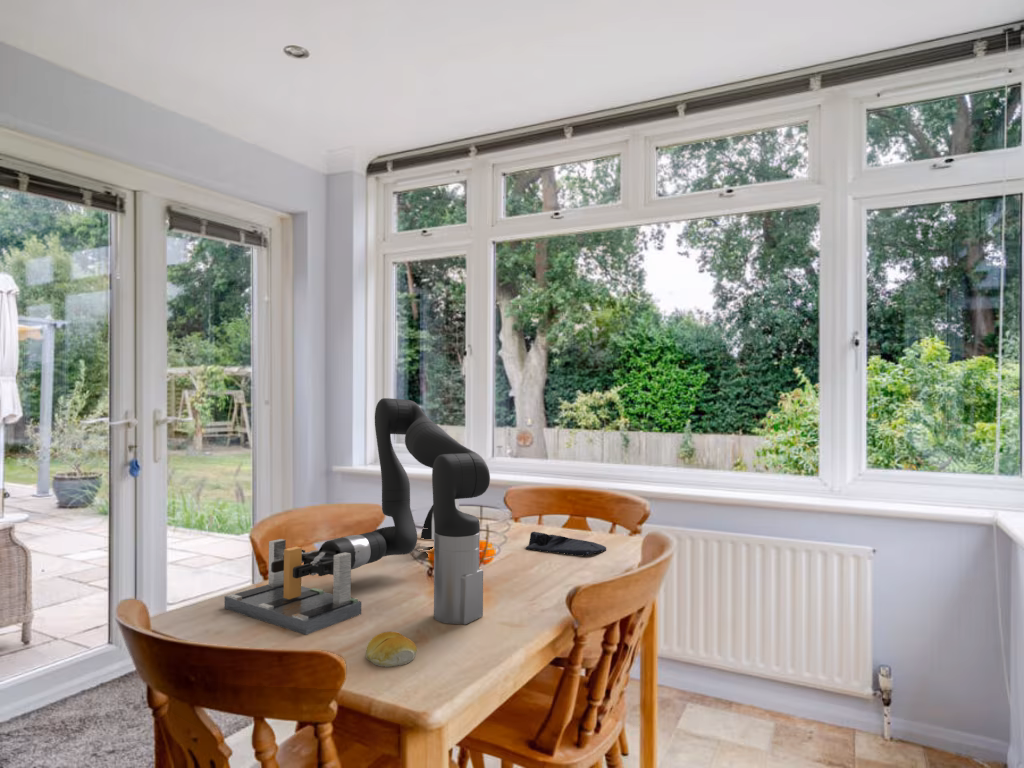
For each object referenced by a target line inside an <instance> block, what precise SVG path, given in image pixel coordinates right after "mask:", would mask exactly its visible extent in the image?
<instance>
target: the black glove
mask: <svg viewBox="0 0 1024 768" xmlns="http://www.w3.org/2000/svg"><path fill="white" fill-rule="evenodd" d="M606 548H607V547H606V546H604V545H603V544H600V543H597V542H593V541H588V540H582V539H577V538H572V537H566V536H563V535H562V536H561V535H555V534H547V533H544V532H540V531H532V532H530V537H529V541H528V545H527V546H526V547H525V549H526V550H528V549H535V550H534V551H537V550H541V551H540V552H542V551H548V552H547V553H550V552H559V553H558V554H560V553H565V554H564V555H569V554H573V555H572V556H578V555H583V557H587V556H591V555H592V554H597V553H602V552H606V551H607V549H606ZM601 551H602V552H601Z"/></svg>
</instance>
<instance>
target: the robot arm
mask: <svg viewBox="0 0 1024 768" xmlns="http://www.w3.org/2000/svg"><path fill="white" fill-rule="evenodd" d="M374 429H375V437H376V445H377V446H376V447H377V452H378V458H379V459H378V460H379V466H380V474H381V512H382V514H383V515H384V516H387V517H391V519H392V521H393V524H394V525H393V526H386V527H380V528H377V529H375V530H372V531H369V532H364V533H361V534H356V535H355V534H353V535H352V534H351V535H347V536H342V537H338V538H335V539H329V540H326V541H324V543H322V545H320V548H319V549H315V550H310V551H307V552H306V549H302V564H301V565H300V566H296V567H294V568H293V577H294V578H300V577H301V578H304V577H306V576H313V577H314V576H316V575H318V577H323V576H326V575H330V576H333V571H334V555H337V554H340V553H344V552H346V553H351V571H352V570H355V569H357V568H360V567H362V566H365V565H367V564H371V563H375V562H378V561H379V560H381V559H382V558H383V557H387V556H388V557H389V556H401V555H409V554H411V553H412V552H413V551H414V550H415V549H416V547H417V544H418V532H417V528H416V527H417V526H416V524H415V520H414V516H413V513H412V510H411V486H410V485H411V484H410V480H409V476H408V473H407V472H406V470H405V468H404V466H403V464H402V463H401V461H400V460H399V458H398V456H397V454H396V452H395V449H394V447H393V444H392V437H391V435H402V436H403V435H405V436H404V445H405V447H406V449H407V451H408V453H409V454H410V455H411V456H412V457H413V459H415V460H416V461H417V462H418V463H419V464H421V465H424V467H428V468H431V470H432V472H431V484H432V485H431V486H432V487H431V488H432V505H433V516H434V525H435V535H434V548H433V552H434V553H433V555H434V556H433V559H434V560H433V619H435V621H437V622H440V623H443V624H455V625H457V624H458V625H459V624H460V625H467V624H469V623H470V624H471V623H472V622H474V621H476V620H477V619H481V618H483V616H484V570H483V569H481V568H480V531H481V530H480V529H481V527H480V525H481V524H480V519H479V517H477V516H476V515H473V514H470V513H466V512H462V511H461V510H460V511H459V510H458V509H457V508H456V505H455V499H459V500H461V499H473V498H477V497H480V496H482V495H483V494H485V493H486V492H487V490H488V489H489V486H490V482H491V475H490V471H489V466H488V465H487V462H486V461H485V459H484V458H483V457H482V456H481V455H480V454H479V453H477V452H475V451H473V450H472V449H470V448H467V447H466V446H464V445H463V444H461V443H460V442H458V440H456V439H455V438H453V437H452V436H451V435H449V434H448V433H447V432H446V431H445V430H444V429H443V428H442V427H441V426H439V425H438V424H436V423H435V422H434V421H432V419H431V418H430V417H429V416H428V415H426V414H425V412H424V410H423V409H422V408H421V407H420V405H419V404H417V402H415V401H414V400H410V399H400V398H389V397H388V398H384V397H383V398H381V399H379V400H378V402H377V403H376V407H375V411H374ZM271 571H272V572H274V573H276V572H280V571H284V555H283V559H282V560H278V561H274V562H272V564H271Z"/></svg>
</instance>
